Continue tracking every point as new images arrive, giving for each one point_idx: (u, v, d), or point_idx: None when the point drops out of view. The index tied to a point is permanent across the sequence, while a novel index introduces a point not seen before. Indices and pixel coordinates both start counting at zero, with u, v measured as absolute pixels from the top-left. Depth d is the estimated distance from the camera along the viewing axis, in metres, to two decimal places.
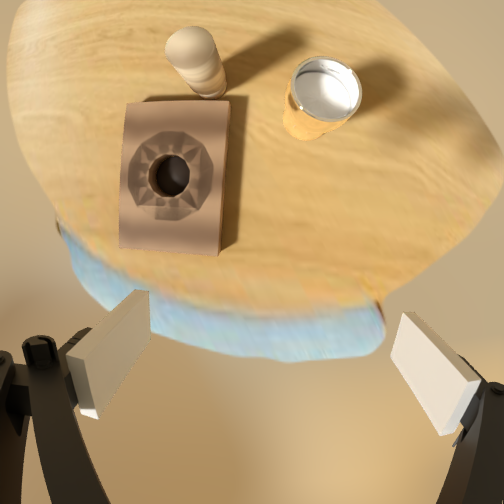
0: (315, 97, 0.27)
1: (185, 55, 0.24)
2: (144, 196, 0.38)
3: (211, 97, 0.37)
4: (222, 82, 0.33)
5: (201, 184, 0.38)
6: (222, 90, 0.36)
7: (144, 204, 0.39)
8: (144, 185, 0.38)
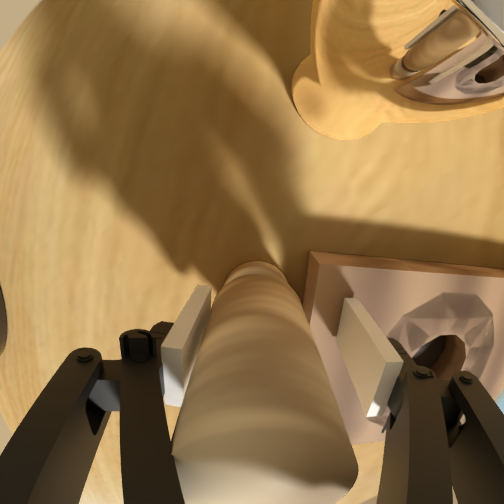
0: None
1: (304, 492, 0.06)
2: None
3: None
4: (281, 285, 0.14)
5: (465, 312, 0.17)
6: (278, 273, 0.18)
7: None
8: None
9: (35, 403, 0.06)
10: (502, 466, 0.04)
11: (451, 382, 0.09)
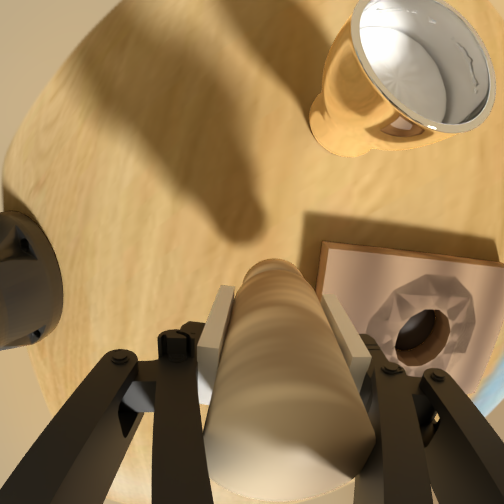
0: (396, 86, 0.12)
1: (327, 464, 0.07)
2: None
3: None
4: (299, 280, 0.15)
5: (446, 291, 0.22)
6: (294, 270, 0.19)
7: (445, 367, 0.23)
8: (425, 369, 0.23)
9: (65, 403, 0.06)
10: (483, 466, 0.04)
11: (422, 380, 0.09)
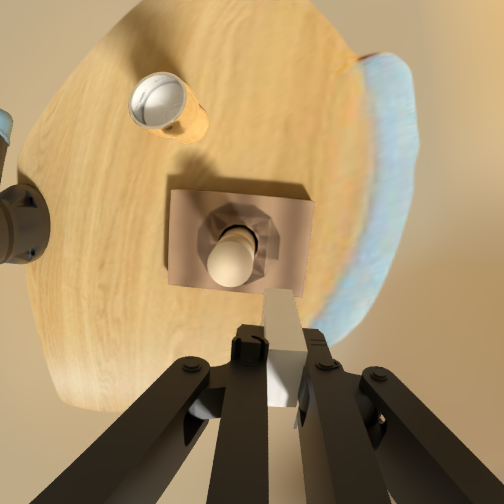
0: (166, 111, 0.32)
1: (240, 267, 0.32)
2: (256, 269, 0.44)
3: None
4: (245, 231, 0.41)
5: (247, 213, 0.42)
6: (247, 230, 0.44)
7: (263, 269, 0.44)
8: None
9: (128, 409, 0.07)
10: (443, 471, 0.05)
11: (362, 381, 0.09)
